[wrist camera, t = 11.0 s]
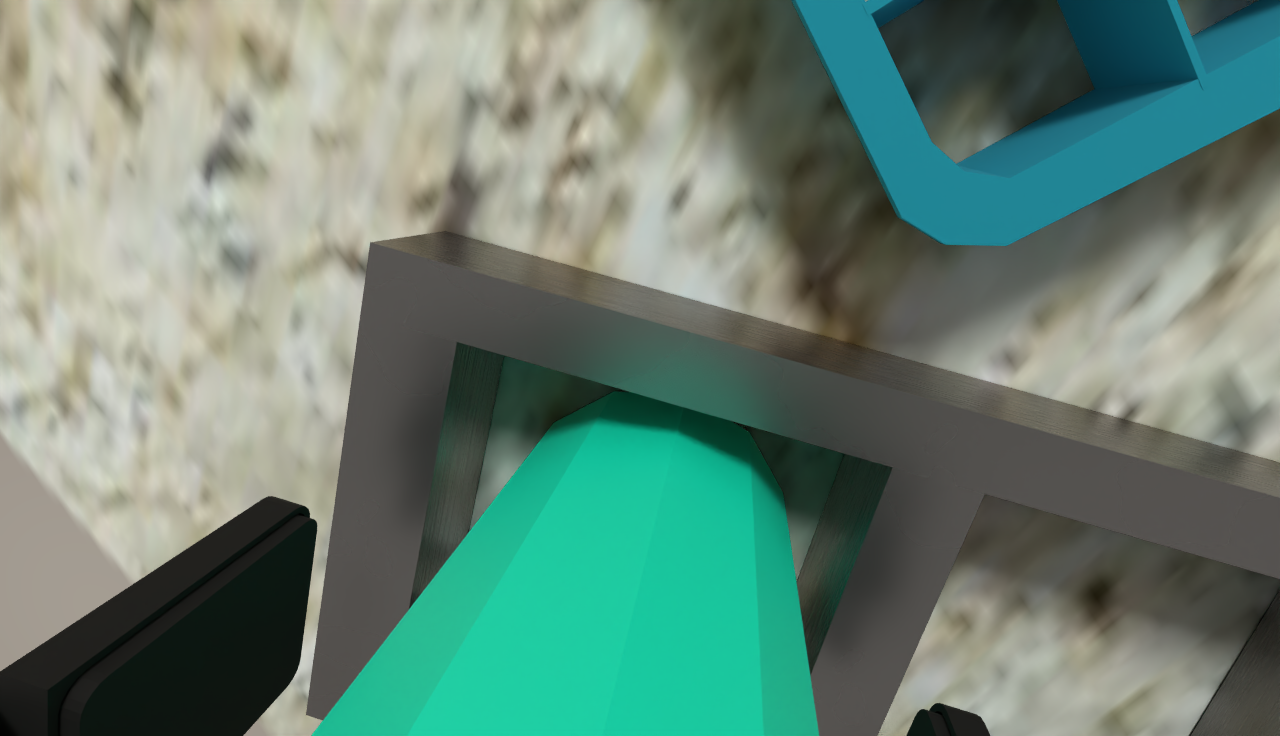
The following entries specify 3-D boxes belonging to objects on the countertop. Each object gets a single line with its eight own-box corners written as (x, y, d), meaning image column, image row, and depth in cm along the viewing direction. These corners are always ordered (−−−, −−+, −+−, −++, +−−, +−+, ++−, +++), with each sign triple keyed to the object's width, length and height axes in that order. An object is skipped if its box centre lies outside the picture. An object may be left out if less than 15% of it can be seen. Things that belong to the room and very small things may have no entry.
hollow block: (1442, 507, 13) (1644, 600, 10) (1190, 885, 16) (1292, 1042, 13) (444, 230, 14) (370, 242, 11) (379, 625, 17) (305, 714, 14)
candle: (485, 419, 15) (-308, 1157, 4) (752, 360, 14) (824, 1176, 2) (561, 649, 16) (152, 1723, 5) (811, 613, 15) (1034, 1915, 4)
